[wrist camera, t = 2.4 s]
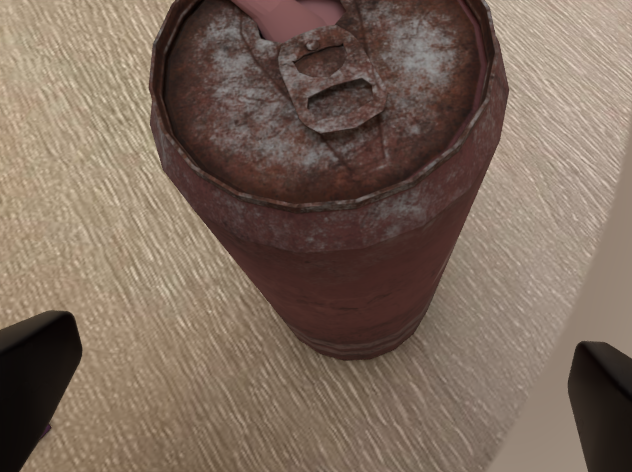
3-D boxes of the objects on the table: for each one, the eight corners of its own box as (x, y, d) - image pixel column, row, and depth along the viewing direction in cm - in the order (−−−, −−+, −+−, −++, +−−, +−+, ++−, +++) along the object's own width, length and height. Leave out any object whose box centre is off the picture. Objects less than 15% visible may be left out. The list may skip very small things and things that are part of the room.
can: (327, 189, 23) (263, -143, 10) (457, 264, 21) (597, -20, 8) (244, 302, 21) (34, 93, 8) (375, 394, 19) (379, 314, 6)
